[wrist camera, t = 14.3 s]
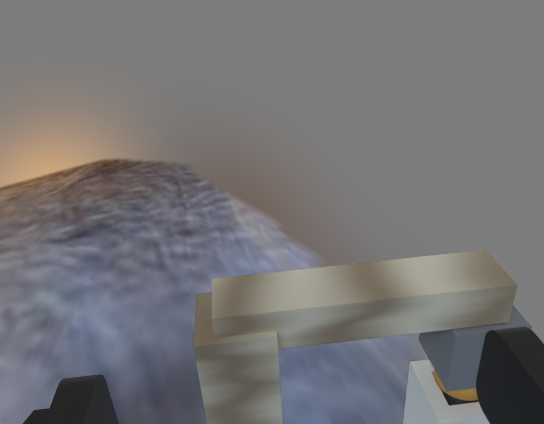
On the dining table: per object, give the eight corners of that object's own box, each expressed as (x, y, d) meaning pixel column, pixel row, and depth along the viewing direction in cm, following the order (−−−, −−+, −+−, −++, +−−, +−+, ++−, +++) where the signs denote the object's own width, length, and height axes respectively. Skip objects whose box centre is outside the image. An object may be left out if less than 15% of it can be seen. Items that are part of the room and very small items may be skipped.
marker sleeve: (428, 488, 30) (439, 422, 27) (402, 424, 34) (409, 361, 31) (500, 478, 30) (518, 412, 27) (466, 416, 34) (479, 353, 31)
